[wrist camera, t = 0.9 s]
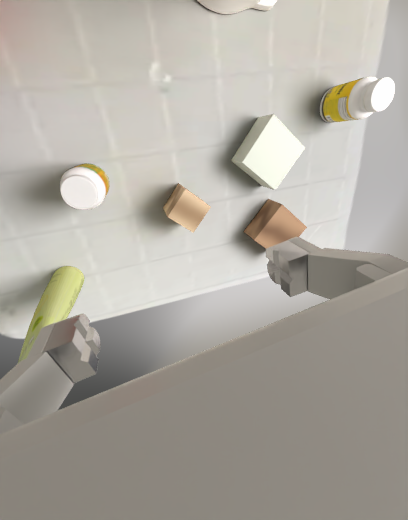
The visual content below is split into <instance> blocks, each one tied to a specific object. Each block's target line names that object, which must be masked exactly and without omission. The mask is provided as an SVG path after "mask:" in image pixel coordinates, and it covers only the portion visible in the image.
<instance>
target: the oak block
mask: <svg viewBox="0 0 408 520" xmlns="http://www.w3.org/2000/svg"><path fill="white" fill-rule="evenodd" d="M210 208H211V207H210V206H209V205H208V204H206V203H205V202H204V201H203V200H201V199H200V198H199V197H197V196H196V195H194V194H193V193H191V192H190V191H189V190H187V189H186V188H184V187H183V186H182V185H180V184H179V183H178V185H177V186H176V188H175V190H174V191H173V193H172V194H171V196H170V197H169V199H168V201H167V202H166V204H165V205H164V207H163V209H164V211H165V213H166V215H167V217H168V218H170V219H172V220H173V221H175V222H177V223H178V224H180V225H182V226H183V227H185V228H187V229H188V230H190V231H192V232H194V231H195V230H196V228H197V227H198V225H199V224H200V222H201V221H202V219H203V218H204V216H205V215H206V213H207V212H208V210H209V209H210Z"/></svg>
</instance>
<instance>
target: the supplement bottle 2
mask: <svg viewBox="0 0 408 520" xmlns="http://www.w3.org/2000/svg"><path fill="white" fill-rule="evenodd" d="M394 91H395V86H394V82H393V80H392V79H391V78H388V77H385V78H381V79H377V78H375V77H365V78H361V79H358V80H355V81H352V82H348V83H345V84H341V85H338V86H335V87H332V88H330V89H329V90H328V91H327V92H326V93H325V94H324V96H323V98H322V100H321V103H320V114H321V117H322V119H323V120H324V121H326V122H329V123H332V122H341V121H349V120H358V119H363V118H366V117H368V116H369V115H371V114H372V113H373V112H378V111H382V110H384V109H385V108H386V107H387V106H388V105H389V104H390V102H391V100H392V98H393V95H394Z"/></svg>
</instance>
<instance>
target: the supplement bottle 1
mask: <svg viewBox="0 0 408 520" xmlns="http://www.w3.org/2000/svg"><path fill="white" fill-rule="evenodd" d="M108 191H109V179H108V176H107V175H106V173H105V172H104V171H103V170H102V169H101V168H100V167H98V166H96V165H93V164H81V165H79V166H76V167H74V168H71V169H69V170H67V171H66V172H65V173H64V174H63V176H62V177H61V180H60V192H61V196H62V198H63V200H64V201H65V202H66V203H67V204H68V205H69V206H71V207H73V208H75V209H80V210H88V209H93V208H96V207H97V206H99V205H100V204H101V203H102V202H103V200H104V199H105V197H106V195H107V193H108Z"/></svg>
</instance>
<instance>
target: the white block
mask: <svg viewBox="0 0 408 520" xmlns="http://www.w3.org/2000/svg"><path fill="white" fill-rule="evenodd" d="M304 149H305V147H304V146H303V145H302V144H301V143H300V142H299V141H298V139H297V138H296V137H295V136H294V135H293V134H292V133H291V132H290V131H289V130H288V129H287V128H286V127H285V126H284V125H283V123H282V122H281V121H280V120H279V119H278V118H277V117H276V116H275V115H274V114H272V115H267V116H262V117H258V119H257V120H256V122H255V123H254V125H253V127H252V128H251V130H250V131H249V133H248V134H247V136H246V138H245V139H244V141H243V142H242V144H241V145H240V147H239V149H238V150H237V152H236V153H235V155H234V157H233V158H232V160H231V161H232V162H233V163H235V164H236V165H237V166H238V167H239V168H241V169H242V170H243V171H244V172H246V173H247V174H248V175H249V176H250V177H252V178H253V179H254V180H255V181H257V182H258V183H259V184H260V185H261V186H264V187H267V188H270V189H273V190H276V189H277V187H278V186H279V184H280V183H281V181H282V180H283V179H284V177H285V176H286V174H287V173H288V172H289V170H290V169H291V167H292V166H293V164H294V163H295V162H296V160H297V159H298V157H299V156H300V155H301V153H302V152H303V150H304Z"/></svg>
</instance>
